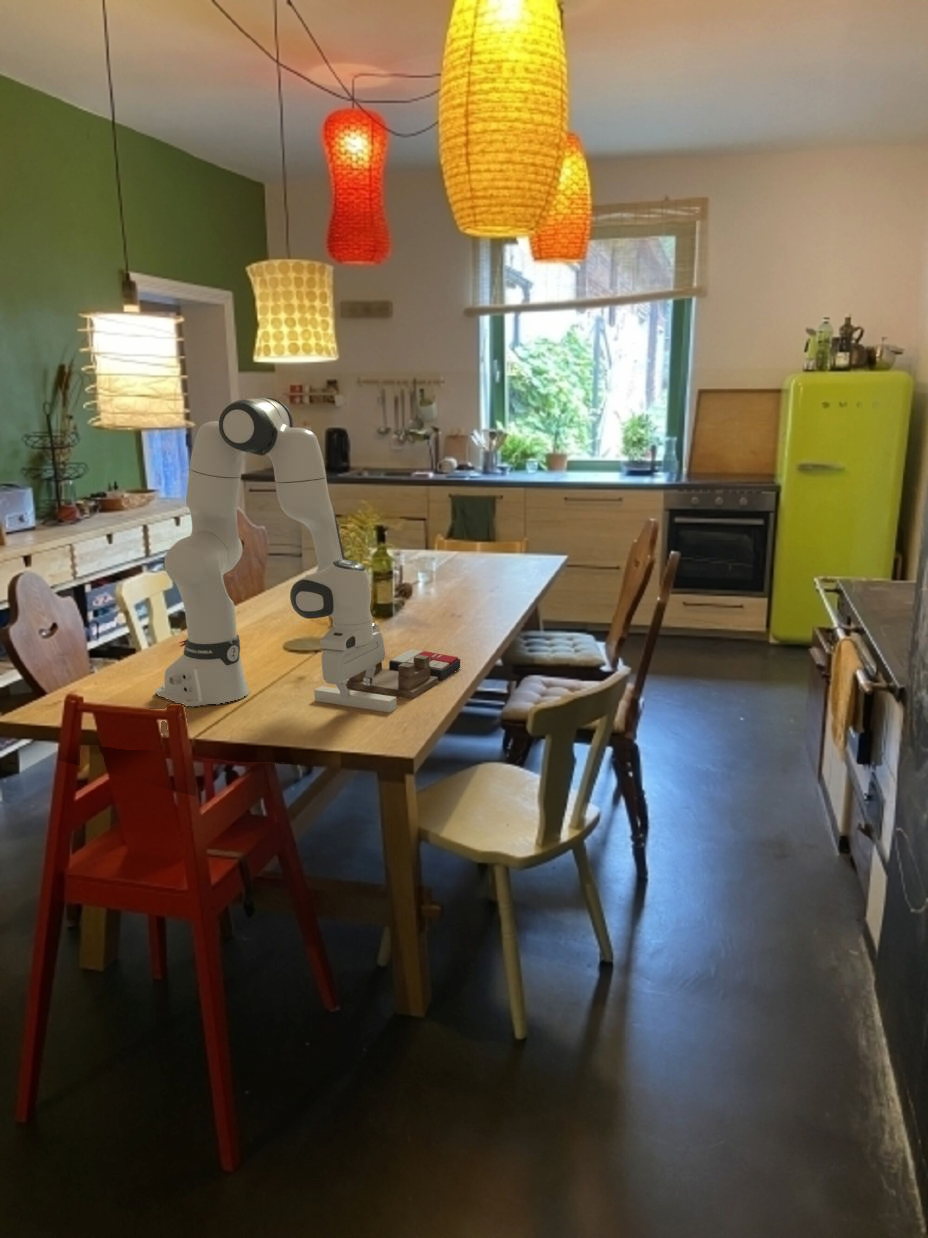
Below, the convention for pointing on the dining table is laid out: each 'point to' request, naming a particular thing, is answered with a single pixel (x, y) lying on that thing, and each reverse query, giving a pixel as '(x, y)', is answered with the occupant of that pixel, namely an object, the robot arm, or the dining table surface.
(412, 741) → the dining table surface
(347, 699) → the clay strip
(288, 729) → the dining table surface
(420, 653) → the calculator
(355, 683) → the rack
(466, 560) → the dining table surface
